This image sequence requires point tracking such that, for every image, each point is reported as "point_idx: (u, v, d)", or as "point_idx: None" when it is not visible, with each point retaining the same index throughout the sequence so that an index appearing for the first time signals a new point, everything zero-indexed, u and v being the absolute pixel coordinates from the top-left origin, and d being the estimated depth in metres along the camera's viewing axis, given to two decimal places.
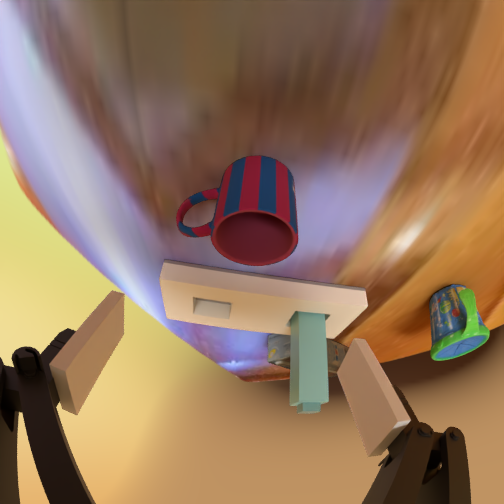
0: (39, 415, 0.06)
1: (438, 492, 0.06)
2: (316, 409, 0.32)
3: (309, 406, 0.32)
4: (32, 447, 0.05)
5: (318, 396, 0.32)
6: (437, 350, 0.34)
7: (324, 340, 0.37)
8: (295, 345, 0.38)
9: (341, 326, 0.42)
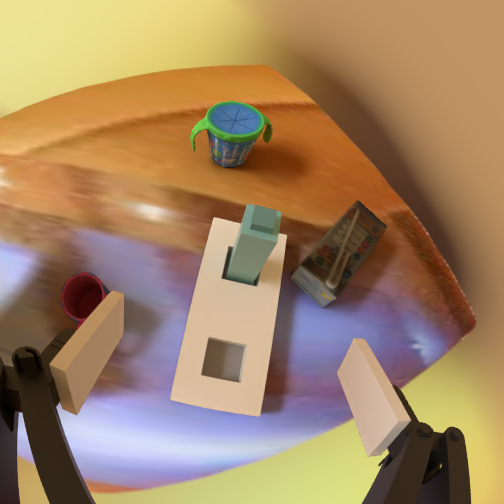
0: (39, 415, 0.06)
1: (438, 492, 0.06)
2: (255, 210, 0.31)
3: (251, 219, 0.31)
4: (32, 447, 0.05)
5: (244, 216, 0.32)
6: (233, 137, 0.44)
7: (235, 241, 0.40)
8: (243, 267, 0.38)
9: None
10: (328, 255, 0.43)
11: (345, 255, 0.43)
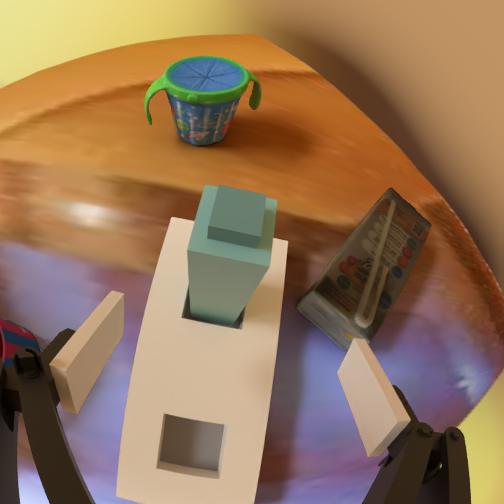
0: (39, 415, 0.06)
1: (438, 492, 0.06)
2: (218, 196, 0.14)
3: None
4: (32, 447, 0.05)
5: None
6: (200, 95, 0.27)
7: None
8: (213, 303, 0.21)
9: None
10: (356, 272, 0.26)
11: (381, 271, 0.26)
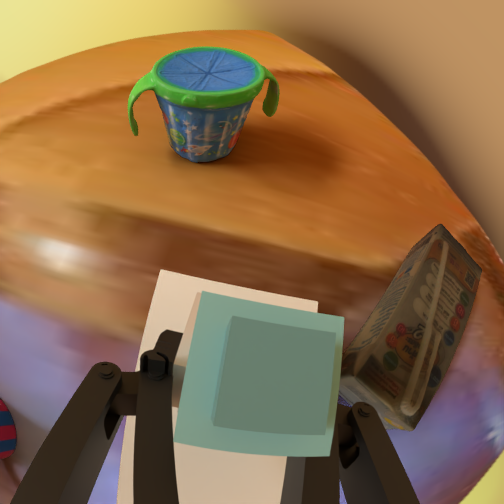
0: (154, 415, 0.08)
1: (366, 478, 0.07)
2: (231, 340, 0.06)
3: (218, 384, 0.06)
4: (136, 442, 0.06)
5: None
6: (199, 96, 0.20)
7: None
8: None
9: None
10: (406, 344, 0.18)
11: (434, 340, 0.18)
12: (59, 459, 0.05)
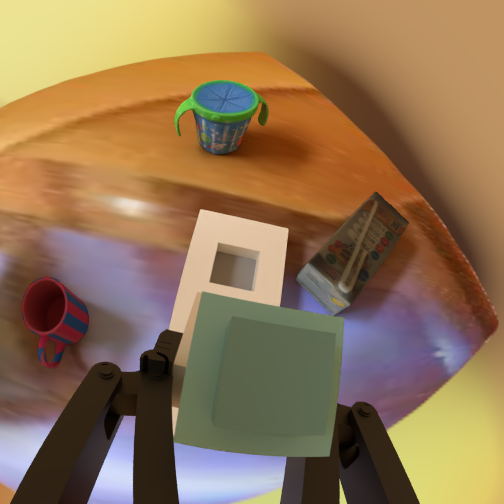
0: (154, 415, 0.08)
1: (366, 478, 0.07)
2: (231, 341, 0.06)
3: (218, 385, 0.06)
4: (136, 442, 0.07)
5: None
6: (222, 116, 0.37)
7: None
8: None
9: (249, 226, 0.38)
10: (341, 252, 0.36)
11: (361, 253, 0.36)
12: (59, 458, 0.05)
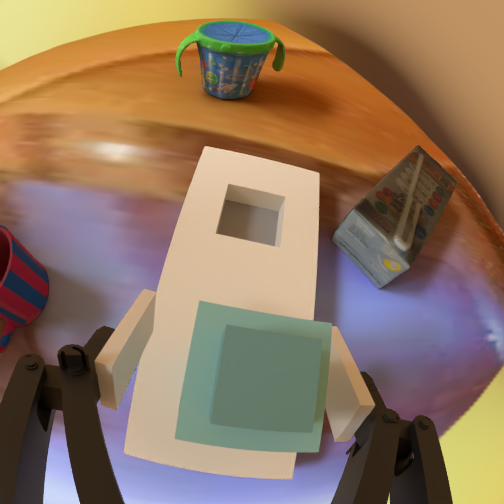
0: (80, 412, 0.07)
1: (414, 485, 0.06)
2: (226, 347, 0.07)
3: (214, 386, 0.06)
4: (69, 442, 0.05)
5: None
6: (233, 45, 0.27)
7: None
8: None
9: (270, 167, 0.28)
10: (392, 202, 0.25)
11: (415, 205, 0.25)
12: (4, 454, 0.04)
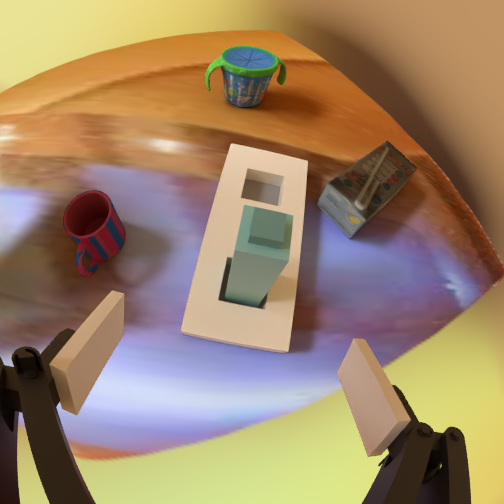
0: (39, 415, 0.06)
1: (438, 492, 0.06)
2: (254, 214, 0.21)
3: (250, 228, 0.21)
4: (32, 447, 0.05)
5: None
6: (248, 70, 0.40)
7: None
8: (244, 288, 0.28)
9: (274, 157, 0.42)
10: (357, 180, 0.39)
11: (374, 182, 0.39)
12: None
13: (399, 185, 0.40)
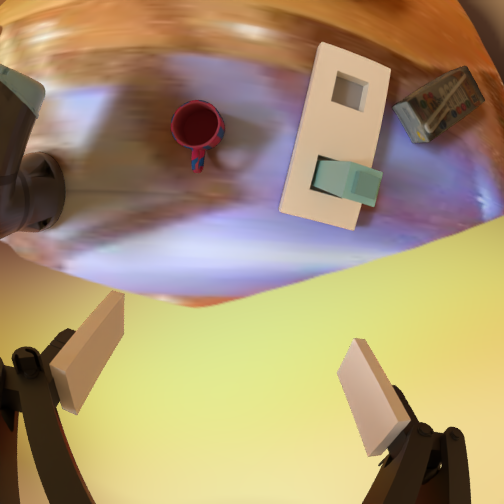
0: (39, 415, 0.06)
1: (438, 492, 0.06)
2: (358, 176, 0.27)
3: (354, 184, 0.28)
4: (32, 447, 0.05)
5: (345, 173, 0.29)
6: None
7: (327, 162, 0.36)
8: None
9: (361, 61, 0.35)
10: (431, 102, 0.34)
11: (445, 108, 0.34)
12: None
13: (465, 115, 0.34)
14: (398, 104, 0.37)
